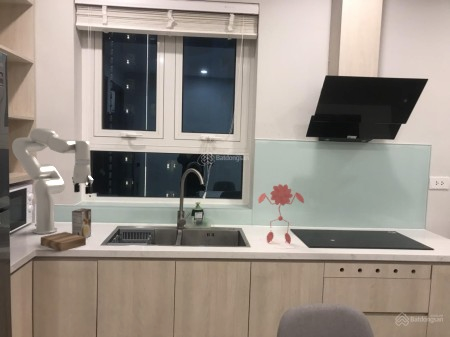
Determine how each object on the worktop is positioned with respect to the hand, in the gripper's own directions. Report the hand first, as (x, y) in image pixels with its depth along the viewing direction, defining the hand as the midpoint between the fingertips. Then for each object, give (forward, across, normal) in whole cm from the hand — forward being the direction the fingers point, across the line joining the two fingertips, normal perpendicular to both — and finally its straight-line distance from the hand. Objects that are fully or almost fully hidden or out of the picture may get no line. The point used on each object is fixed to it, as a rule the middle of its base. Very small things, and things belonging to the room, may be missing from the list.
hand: (82, 193), depth 194 cm
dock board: (+26, +3, -14) cm, 30 cm away
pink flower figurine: (+27, +95, +59) cm, 115 cm away
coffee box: (+26, -1, 0) cm, 26 cm away
